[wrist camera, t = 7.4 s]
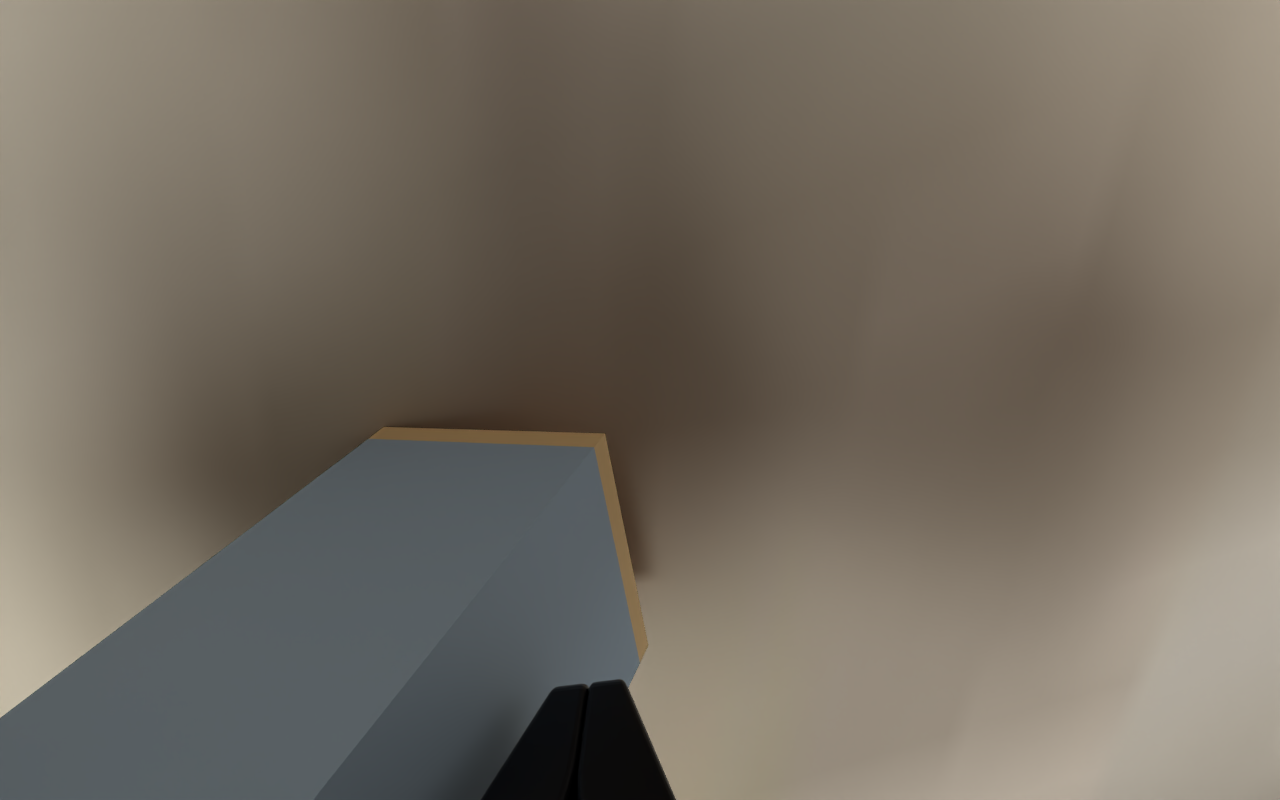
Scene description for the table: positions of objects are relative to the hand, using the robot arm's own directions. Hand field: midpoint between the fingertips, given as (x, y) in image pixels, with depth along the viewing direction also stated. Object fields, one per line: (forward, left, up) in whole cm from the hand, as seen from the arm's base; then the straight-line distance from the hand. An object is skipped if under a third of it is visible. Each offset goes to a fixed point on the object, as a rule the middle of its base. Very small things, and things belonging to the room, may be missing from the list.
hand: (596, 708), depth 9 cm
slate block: (+2, 0, -4) cm, 4 cm away
